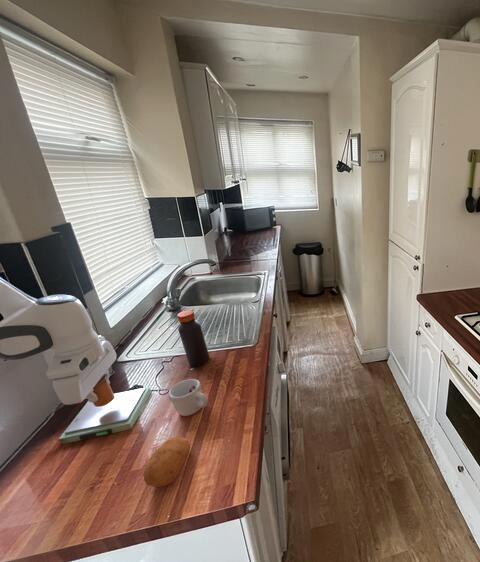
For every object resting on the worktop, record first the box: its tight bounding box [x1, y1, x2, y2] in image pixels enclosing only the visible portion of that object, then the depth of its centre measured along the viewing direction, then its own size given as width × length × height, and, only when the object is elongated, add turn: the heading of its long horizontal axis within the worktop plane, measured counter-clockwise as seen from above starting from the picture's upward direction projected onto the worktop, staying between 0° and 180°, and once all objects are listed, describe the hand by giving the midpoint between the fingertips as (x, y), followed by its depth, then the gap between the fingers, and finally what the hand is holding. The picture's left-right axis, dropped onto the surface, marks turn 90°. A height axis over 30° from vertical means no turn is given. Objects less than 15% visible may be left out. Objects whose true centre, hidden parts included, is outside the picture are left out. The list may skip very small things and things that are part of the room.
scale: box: [58, 387, 152, 445], centre depth 89 cm, size 16×16×3 cm
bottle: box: [176, 309, 211, 368], centre depth 109 cm, size 7×7×20 cm
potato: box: [143, 436, 191, 488], centre depth 72 cm, size 7×13×7 cm, turn 8°
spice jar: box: [93, 375, 115, 407], centre depth 86 cm, size 5×5×7 cm
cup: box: [167, 378, 209, 417], centre depth 89 cm, size 11×8×8 cm
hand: (100, 393), depth 86 cm, fingers closed on spice jar, 4 cm apart
